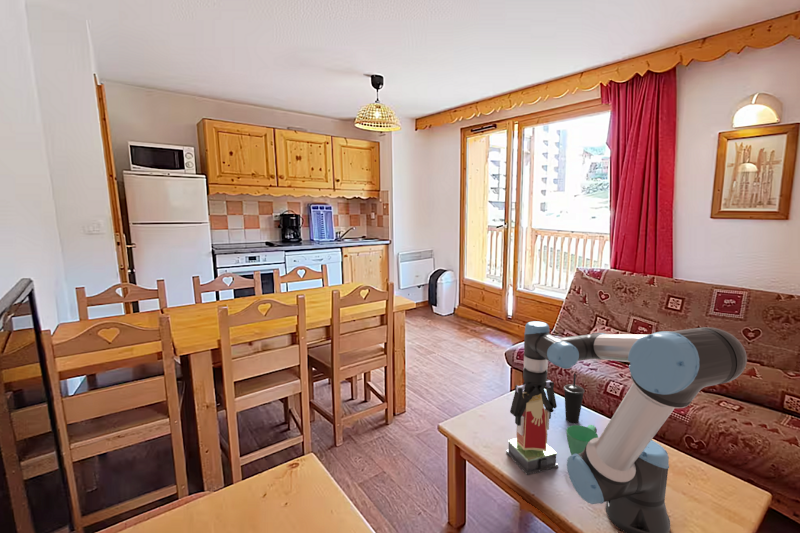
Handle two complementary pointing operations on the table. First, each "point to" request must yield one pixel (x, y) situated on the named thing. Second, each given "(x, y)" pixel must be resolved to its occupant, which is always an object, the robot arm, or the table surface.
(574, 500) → the table surface
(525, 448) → the milk carton
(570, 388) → the drinking cup
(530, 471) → the stand
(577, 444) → the mug
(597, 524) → the table surface
